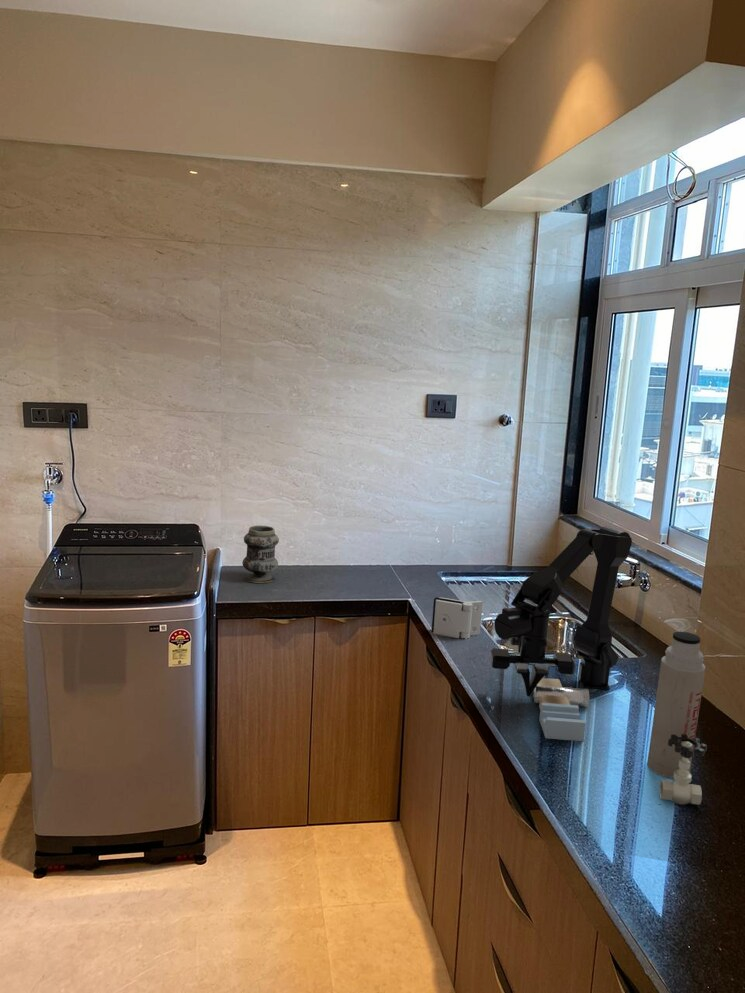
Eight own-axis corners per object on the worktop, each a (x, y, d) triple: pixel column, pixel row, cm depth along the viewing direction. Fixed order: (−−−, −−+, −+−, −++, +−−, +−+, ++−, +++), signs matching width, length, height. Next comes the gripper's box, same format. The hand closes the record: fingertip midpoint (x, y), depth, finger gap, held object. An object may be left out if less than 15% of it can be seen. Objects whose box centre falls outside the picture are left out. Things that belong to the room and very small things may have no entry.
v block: (575, 722, 165) (577, 705, 164) (583, 741, 157) (585, 722, 156) (539, 720, 166) (541, 702, 165) (545, 738, 158) (547, 719, 157)
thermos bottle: (698, 773, 147) (719, 640, 142) (670, 782, 143) (690, 645, 138) (666, 754, 154) (684, 625, 149) (638, 761, 150) (656, 630, 145)
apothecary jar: (274, 585, 249) (276, 533, 245) (238, 583, 249) (240, 531, 245) (279, 575, 261) (281, 525, 257) (245, 573, 261) (246, 523, 257)
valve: (701, 816, 133) (711, 754, 131) (663, 809, 134) (671, 748, 132) (693, 795, 140) (702, 736, 137) (656, 789, 141) (665, 731, 139)
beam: (557, 690, 181) (559, 679, 180) (569, 718, 167) (570, 705, 167) (532, 688, 181) (534, 677, 181) (542, 716, 167) (543, 703, 167)
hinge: (479, 634, 216) (482, 601, 214) (479, 641, 210) (483, 607, 209) (431, 629, 217) (434, 596, 215) (430, 635, 212) (433, 602, 210)
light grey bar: (584, 701, 176) (586, 686, 175) (588, 709, 172) (590, 693, 171) (533, 698, 176) (534, 682, 175) (535, 705, 172) (537, 689, 172)
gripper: (568, 623, 179) (562, 683, 182) (490, 617, 180) (485, 677, 183) (578, 640, 168) (571, 704, 171) (495, 634, 169) (489, 698, 172)
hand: (528, 695), depth 174 cm, fingers closed
